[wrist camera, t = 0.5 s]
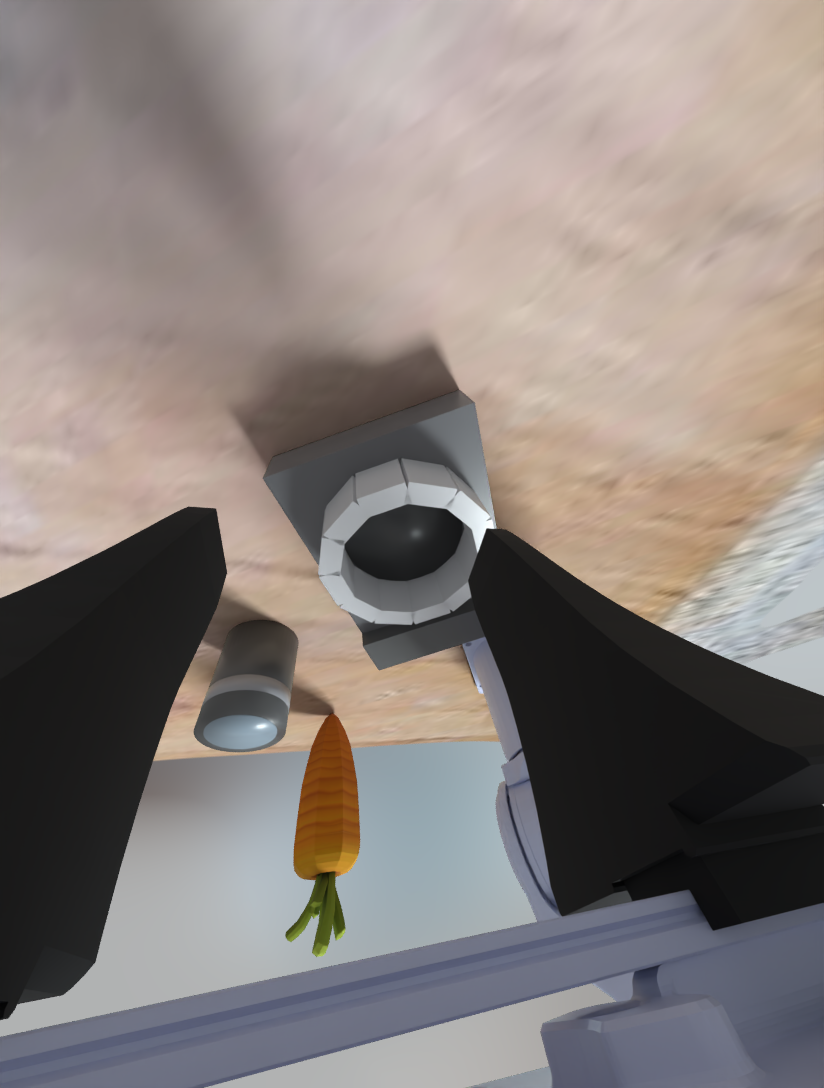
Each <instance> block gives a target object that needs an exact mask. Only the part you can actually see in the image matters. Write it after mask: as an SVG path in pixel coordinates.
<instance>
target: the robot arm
mask: <svg viewBox="0 0 824 1088" xmlns="http://www.w3.org/2000/svg"><path fill="white" fill-rule="evenodd" d="M226 574H227V569H226V563H225V558H224V552H223V546H222V540H221V534H220V529H219V523H218V517H217V511H216V509H214V508H200V507H187V508H184V509H182V510H180V511H178V512H176V513H174V514H172V515H170V516H168V517H166V518H164V519H162V520H160V521H159V522H157V523H155V524H153V525H151V526H149V527H148V528H146V529H144V530H142V531H140V532H138V533H136V534H135V535H133V536H131V537H129V538H127V539H125V540H123V541H121V542H120V543H118V544H116V545H114V546H112V547H110V548H108V549H106V550H104V551H102V552H100V553H98V554H96V555H94V556H92V557H90V558H88V559H86V560H84V561H82V562H80V563H78V564H76V565H74V566H71V567H69V568H67V569H65V570H63V571H61V572H59V573H57V574H55V575H53V576H51V577H49V578H46V579H44V580H42V581H40V582H38V583H35V584H33V585H31V586H28V587H26V588H24V589H22V590H19V591H17V592H15V593H12V594H10V595H7V596H5V597H2V598H0V1020H3V1019H7V1018H9V1017H10V1015H11V1014H12V1013H13V1011H14V1010H15V1008H16V1006H17V1004H20V1003H25V1002H30V1001H36V1000H41V999H45V998H50V997H55V996H61V995H64V994H65V993H66V992H67V991H68V990H70V989H71V988H72V987H73V986H74V985H75V984H76V983H77V982H78V981H79V980H80V979H81V978H82V977H83V976H84V975H85V974H86V973H87V971H88V970H89V969H90V968H91V967H92V965H93V964H94V963H95V961H96V958H97V954H98V950H99V945H100V942H101V937H102V934H103V930H104V926H105V923H106V919H107V915H108V911H109V908H110V904H111V900H112V896H113V893H114V889H115V885H116V881H117V878H118V874H119V871H120V867H121V863H122V860H123V857H124V853H125V850H126V846H127V843H128V840H129V836H130V833H131V830H132V826H133V823H134V819H135V816H136V812H137V809H138V806H139V802H140V799H141V796H142V793H143V790H144V787H145V784H146V781H147V777H148V774H149V771H150V768H151V765H152V762H153V759H154V756H155V753H156V750H157V747H158V744H159V741H160V738H161V735H162V732H163V729H164V727H165V724H166V721H167V718H168V715H169V712H170V709H171V707H172V704H173V702H174V699H175V697H176V695H177V692H178V690H179V687H180V685H181V683H182V681H183V679H184V677H185V675H186V672H187V670H188V668H189V666H190V664H191V662H192V660H193V657H194V655H195V653H196V651H197V649H198V647H199V645H200V643H201V640H202V638H203V636H204V634H205V632H206V630H207V627H208V625H209V623H210V621H211V619H212V617H213V614H214V612H215V610H216V608H217V605H218V602H219V598H220V595H221V592H222V589H223V585H224V582H225V578H226ZM468 584H469V588H470V593H471V597H472V601H473V605H474V609H475V612H476V615H477V617H478V620H479V622H480V625H481V627H482V630H483V633H484V635H485V637H483V638H480V639H477V640H474V641H470V642H467V643H464V644H462V645H463V648H464V651H465V654H466V657H467V660H468V663H469V666H470V668H471V671H472V674H473V677H474V680H475V683H476V686H477V689H478V691H479V693H484V696H485V699H486V702H487V705H488V707H489V710H490V713H491V716H492V719H493V722H494V725H495V728H496V731H497V734H498V737H499V740H500V743H501V745H502V748H503V751H504V754H505V757H506V760H507V763H506V764H504V765H502V766H501V768H502V771H503V774H504V777H505V780H506V781H503V782H501V783H500V784H499V787H498V794H497V797H496V814H497V820H498V825H499V829H500V833H501V837H502V840H503V844H504V847H505V850H506V853H507V855H508V858H509V861H510V864H511V866H512V868H513V871H514V873H515V875H516V877H517V879H518V881H519V883H520V885H521V887H522V889H523V890H524V892H525V893H526V895H527V898H528V900H529V902H530V905H531V907H532V909H533V912H534V915H535V917H536V920H537V922H535V923H530V924H526V925H521V926H516V927H512V928H507V929H502V930H498V931H493V932H488V933H484V934H479V935H474V936H470V937H465V938H460V939H456V940H451V941H446V942H442V943H437V944H433V945H428V946H423V947H419V948H414V949H409V950H404V951H400V952H395V953H390V954H386V955H381V956H376V957H372V958H367V959H362V960H358V961H353V962H348V963H343V964H339V965H334V966H329V967H325V968H321V969H316V970H311V971H307V972H302V973H297V974H292V975H288V976H283V977H278V978H273V979H269V980H264V981H259V982H255V983H250V984H245V985H241V986H236V987H231V988H227V989H222V990H218V991H213V992H208V993H203V994H199V995H194V996H189V997H185V998H180V999H176V1000H171V1001H166V1002H161V1003H157V1004H152V1005H148V1006H143V1007H138V1008H133V1009H129V1010H124V1011H119V1012H115V1013H110V1014H106V1015H101V1016H96V1017H92V1018H87V1019H83V1020H78V1021H72V1022H68V1023H64V1024H59V1025H54V1026H49V1027H44V1028H40V1029H35V1030H31V1031H26V1032H21V1033H16V1034H12V1035H7V1036H3V1037H0V1088H204V1087H208V1086H212V1085H215V1084H219V1083H223V1082H227V1081H230V1080H233V1079H238V1078H241V1077H245V1076H248V1075H252V1074H256V1073H259V1072H264V1071H267V1070H271V1069H275V1068H278V1067H282V1066H286V1065H289V1064H293V1063H297V1062H301V1061H304V1060H307V1059H312V1058H315V1057H319V1056H323V1055H327V1054H330V1053H334V1052H337V1051H341V1050H345V1049H349V1048H352V1047H356V1046H360V1045H363V1044H367V1043H371V1042H375V1041H379V1040H382V1039H386V1038H390V1037H393V1036H397V1035H401V1034H405V1033H408V1032H412V1031H416V1030H419V1029H423V1028H427V1027H431V1026H434V1025H438V1024H441V1023H445V1022H449V1021H453V1020H456V1019H460V1018H464V1017H467V1016H471V1015H475V1014H479V1013H482V1012H486V1011H490V1010H494V1009H497V1008H501V1007H504V1006H508V1005H512V1004H516V1003H519V1002H523V1001H527V1000H531V999H534V998H538V997H541V996H545V995H549V994H553V993H556V992H560V991H564V990H568V989H571V988H575V987H579V986H583V985H586V984H590V983H592V984H593V985H595V986H596V987H598V988H599V989H601V990H602V991H603V992H605V993H606V994H607V995H609V996H610V997H612V998H613V999H614V1000H615V1001H617V1002H613V1003H606V1004H600V1005H595V1006H591V1007H587V1008H583V1009H579V1010H576V1011H572V1012H570V1013H567V1014H565V1015H562V1016H560V1017H557V1018H555V1019H552V1020H550V1021H547V1022H545V1023H543V1024H542V1028H541V1036H542V1040H543V1044H544V1048H545V1052H546V1055H547V1059H548V1063H549V1066H548V1067H545V1068H541V1069H537V1070H533V1071H529V1072H525V1073H521V1074H517V1075H513V1076H510V1077H506V1078H502V1079H498V1080H494V1081H490V1082H487V1083H482V1084H479V1085H475V1086H471V1087H467V1088H824V806H823V805H822V804H824V696H822V695H819V694H816V693H814V692H811V691H808V690H806V689H803V688H800V687H797V686H795V685H792V684H789V683H787V682H784V681H781V680H778V679H775V678H773V677H770V676H768V675H765V674H763V673H760V672H758V671H756V670H753V669H751V668H748V667H746V666H744V665H741V664H739V663H736V662H734V661H732V660H729V659H727V658H724V657H722V656H720V655H718V654H715V653H713V652H711V651H709V650H706V649H704V648H702V647H700V646H698V645H695V644H693V643H691V642H689V641H687V640H685V639H683V638H681V637H679V636H677V635H675V634H673V633H671V632H669V631H666V630H664V629H662V628H660V627H659V626H657V625H655V624H653V623H651V622H649V621H647V620H645V619H643V618H642V617H640V616H638V615H636V614H634V613H633V612H631V611H629V610H627V609H626V608H624V607H622V606H620V605H618V604H617V603H615V602H613V601H612V600H610V599H608V598H607V597H605V596H604V595H602V594H600V593H599V592H597V591H596V590H594V589H593V588H591V587H590V586H588V585H586V584H585V583H583V582H582V581H580V580H579V579H577V578H576V577H574V576H573V575H571V574H570V573H569V572H567V571H566V570H564V569H563V568H561V567H560V566H559V565H557V564H556V563H554V562H553V561H551V560H550V559H549V558H547V557H546V556H545V555H543V554H542V553H540V552H539V551H538V550H536V549H535V548H533V547H532V546H530V545H529V544H528V543H526V542H525V541H523V540H522V539H520V538H519V537H517V536H516V535H514V534H513V533H511V532H509V531H507V530H504V529H490V528H486V531H485V534H484V537H483V540H482V543H481V545H480V548H479V551H478V554H477V557H476V559H475V562H474V565H473V568H472V571H471V573H470V576H469V579H468Z"/></svg>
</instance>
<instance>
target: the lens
mask: <svg viewBox="0 0 824 1088" xmlns="http://www.w3.org/2000/svg"><path fill="white" fill-rule="evenodd" d="M297 650H298V638H297V636H296V634H295V633H294V632H293V631H292V630H291V629H290V628H288V627H286V626H285V625H282V624H280V623H277V622H273V621H267V620H254V621H248V622H244V623H242V624H239V625H237V626H236V627H234V628H233V629H232V630H231V631H230V632H229V633H228V635H227V638H226V641H225V644H224V646H223V649H222V652H221V655H220V658H219V661H218V663H217V666H216V669H215V672H214V675H213V677H212V680H211V683H210V686H209V689H208V691H207V693H206V696H205V699H204V702H203V704H202V707H201V711H200V714H199V717H198V720H197V722H196V725H195V728H194V735H195V738H196V739H197V740H198V741H199V742H200V743H202V744H203V745H205V746H207V747H210V748H212V749H216V750H220V751H226V752H250V751H256V750H261V749H264V748H267V747H270V746H272V745H274V744H276V743H278V742H279V741H280V740H281V739H282V738H283V737H284V735H285V733H286V726H287V719H288V714H289V707H290V700H291V691H292V684H293V677H294V670H295V663H296V656H297Z"/></svg>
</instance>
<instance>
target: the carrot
mask: <svg viewBox="0 0 824 1088" xmlns="http://www.w3.org/2000/svg"><path fill="white" fill-rule="evenodd" d="M359 848H360V826H359V805H358V791H357V779H356V773H355V767H354V761H353V756H352V751H351V746H350V743H349V740H348V737H347V735H346V732H345V730H344V728H343V726H342V724H341V722H340V720H339V718H338V717H337V716H336V715H334V714H333V713H332V714H330V715H329V716H328V717H327V718H326V719H325V721H324V723H323V724H322V726H321V728H320V730H319V731H318V734H317V736H316V738H315V741H314V743H313V745H312V748H311V752H310V756H309V759H308V763H307V767H306V771H305V775H304V780H303V784H302V789H301V796H300V803H299V811H298V819H297V826H296V835H295V843H294V871H295V872H296V874H297V875H298V876H299V877H300V878H302V879H307V880H316V881H315V885H314V889H313V892H312V895H311V897H310V900H309V902H308V904H307V906H306V908H305V910H304V911H303V913H302V914H301V916H300V918H299V919H298V921H297V922H296V923H295V924H294V925H293V926H292V927H291V928H290V929H289V930H288V931H287V932H286V938H287V940H288V941H290V942H292V941H293V940H294V939H295V938H297V937H298V936H299V935H300V934H301V933H302V931H303V930H304V929H305V928H306V926H307V924H308V922H309V920H310V918H311V916H312V917H313V918H315V917H316V916H317V915H318V914H319V911H320V915H319V924H318V928H317V932H316V937H315V941H314V946H313V951H312V953H313V954H314V955H315V956H316V957H317V956H323V955H324V954H325V953H326V950H327V948H328V944H329V940H330V935H331V931H332V925H333V928H334V934H335V938H336V940H338V939H340V938H341V937H342V936H343V934H344V933H345V922H344V917H343V913H342V909H341V905H340V901H339V898H338V895H337V891H336V888H335V877H337V876H339V875H342V874H344V873H347V872H348V871H349V870H350V869H351V868H352V867H353V865H354V864H355V862H356V859H357V857H358V853H359Z"/></svg>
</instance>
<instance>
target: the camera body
mask: <svg viewBox="0 0 824 1088" xmlns="http://www.w3.org/2000/svg"><path fill="white" fill-rule="evenodd" d="M263 479H264V481H265V483H266V484H267V486H268V487H269V489H270V490H271V492H272V493H273V495H274V497H275V498H276V500H277V501H278V503H279V504H280V506H281V507H282V509H283V511H284V512H285V514H286V515H287V517H288V518H289V520H290V522H291V523H292V525H293V526H294V528H295V529H296V531H297V532H298V534H299V536H300V537H301V539H302V540H303V542H304V543H305V545H306V547H307V548H308V550H309V551H310V553H311V554H312V556H313V557H314V559H315V561H316V562H317V564H318V565H319V572H318V575H319V578H320V580H321V581H322V583H323V584H324V586H325V587H326V589H327V590H328V592H329V593H330V595H331V596H332V598H333V599H334V601H335V602H336V604H337V606H338V605H340V608H342V609H344V610H346V611H348V612H349V614H350V615H351V617H352V618H353V620H354V621H355V623H356V625H357V626H358V628H359V629H360V631H361V632H362V638H363V647H364V649H365V650H366V652H367V653H368V655H369V656H370V658H371V659H372V661H373V662H374V664H375V665H376V667H377V668H378V670H382V669H385V668H388V667H391V666H394V665H398V664H401V663H404V662H407V661H410V660H413V659H417V658H420V657H423V656H426V655H429V654H432V653H436V652H439V651H442V650H445V649H448V648H451V647H455V646H458V645H461V644H464V643H467V642H470V641H474V640H477V639H480V638H483V637H485V635H484V633H483V630H482V627H481V625H480V622H479V620H478V617H477V615H476V612H475V609H474V605H473V601H472V597H471V593H470V588H469V584H468V579H469V576H470V573H471V571H472V568H473V565H474V562H475V559H476V557H477V554H478V551H479V548H480V545H481V543H482V540H483V537H484V534H485V531H486V528H490V529H497V527H496V522H495V516H494V510H493V505H492V499H491V493H490V487H489V482H488V476H487V470H486V465H485V459H484V453H483V447H482V442H481V436H480V430H479V425H478V419H477V413H476V408H475V402H473V401H472V400H471V399H470V398H469V397H468V396H466V395H465V394H464V393H463V392H462V391H461V390H457V391H455V392H452V393H449V394H446V395H443V396H441V397H438V398H435V399H432V400H430V401H427V402H424V403H421V404H418V405H416V406H413V407H410V408H407V409H405V410H402V411H399V412H396V413H393V414H391V415H388V416H385V417H382V418H380V419H377V420H374V421H371V422H369V423H366V424H363V425H360V426H357V427H355V428H352V429H349V430H346V431H344V432H341V433H338V434H335V435H332V436H330V437H327V438H324V439H321V440H319V441H316V442H313V443H310V444H307V445H305V446H302V447H299V448H296V449H294V450H291V451H288V452H285V453H282V454H280V455H277V456H274V457H272V459H271V462H270V464H269V466H268V468H267V470H266V472H265V474H264V477H263Z"/></svg>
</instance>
